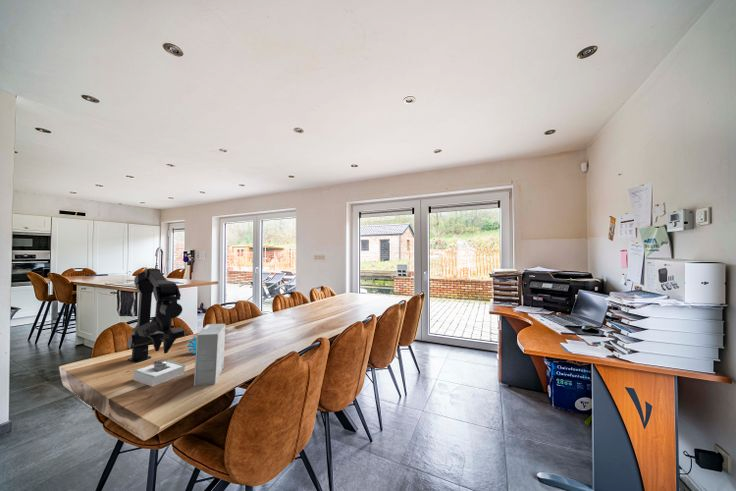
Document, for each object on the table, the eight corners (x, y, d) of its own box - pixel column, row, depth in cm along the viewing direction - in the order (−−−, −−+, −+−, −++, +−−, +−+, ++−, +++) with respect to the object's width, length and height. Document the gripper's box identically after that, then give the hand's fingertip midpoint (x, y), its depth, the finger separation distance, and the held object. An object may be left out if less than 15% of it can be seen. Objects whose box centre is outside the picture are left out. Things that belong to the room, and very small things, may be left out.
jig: (133, 379, 105) (133, 370, 106) (165, 368, 117) (166, 359, 117) (152, 386, 101) (153, 376, 101) (184, 374, 112) (184, 365, 112)
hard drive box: (204, 369, 117) (207, 323, 118) (223, 368, 120) (226, 323, 120) (192, 386, 103) (196, 334, 103) (215, 384, 105) (218, 333, 106)
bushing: (149, 377, 108) (150, 362, 108) (161, 373, 112) (163, 358, 112) (157, 380, 106) (158, 365, 106) (169, 375, 110) (170, 361, 110)
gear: (187, 353, 129) (189, 335, 136) (184, 359, 132) (186, 341, 138) (212, 352, 136) (213, 334, 143) (209, 358, 139) (210, 340, 145)
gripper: (126, 314, 106) (123, 354, 105) (157, 320, 99) (154, 363, 98) (157, 309, 116) (154, 346, 115) (187, 315, 109) (184, 353, 109)
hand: (161, 352), depth 109 cm, fingers open, 5 cm apart
